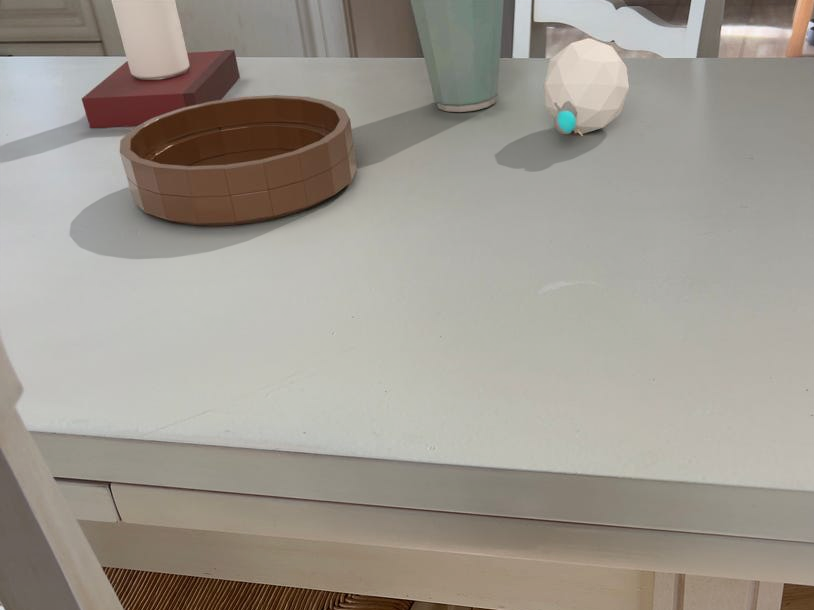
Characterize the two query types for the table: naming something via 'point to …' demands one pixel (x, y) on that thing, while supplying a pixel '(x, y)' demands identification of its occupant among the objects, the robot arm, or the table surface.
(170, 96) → the book
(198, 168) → the bowl
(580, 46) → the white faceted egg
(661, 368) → the table surface
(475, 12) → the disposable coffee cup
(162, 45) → the can
